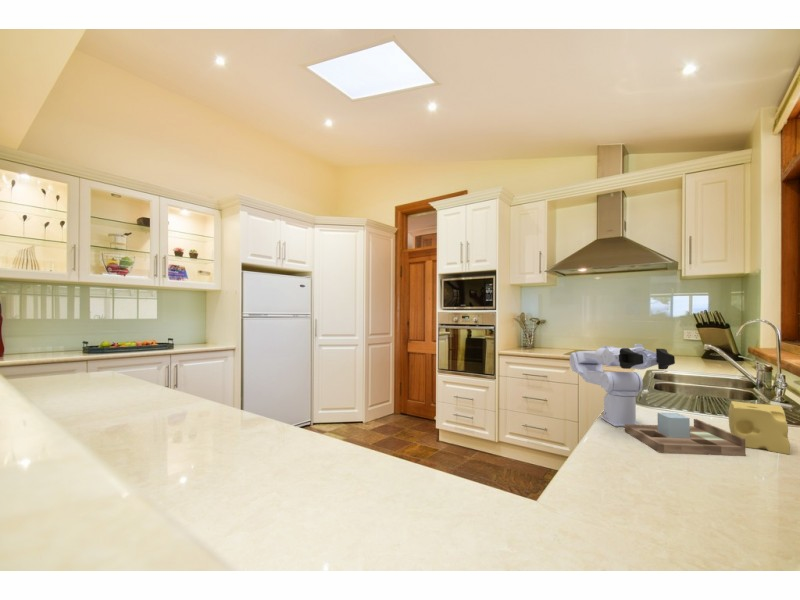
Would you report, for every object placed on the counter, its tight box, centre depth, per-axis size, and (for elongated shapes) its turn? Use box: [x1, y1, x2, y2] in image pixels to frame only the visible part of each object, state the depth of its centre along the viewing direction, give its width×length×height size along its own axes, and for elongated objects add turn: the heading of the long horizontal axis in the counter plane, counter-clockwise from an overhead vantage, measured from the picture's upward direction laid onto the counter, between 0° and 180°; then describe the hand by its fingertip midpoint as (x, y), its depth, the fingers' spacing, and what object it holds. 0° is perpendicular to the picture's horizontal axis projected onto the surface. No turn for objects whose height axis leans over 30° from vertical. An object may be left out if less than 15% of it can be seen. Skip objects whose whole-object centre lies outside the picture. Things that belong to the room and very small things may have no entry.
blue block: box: [657, 412, 691, 438], centre depth 102 cm, size 5×5×5 cm
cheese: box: [728, 400, 791, 455], centre depth 101 cm, size 10×11×10 cm
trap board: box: [624, 418, 747, 457], centre depth 102 cm, size 17×19×4 cm
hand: (657, 359), depth 100 cm, fingers open, 7 cm apart
